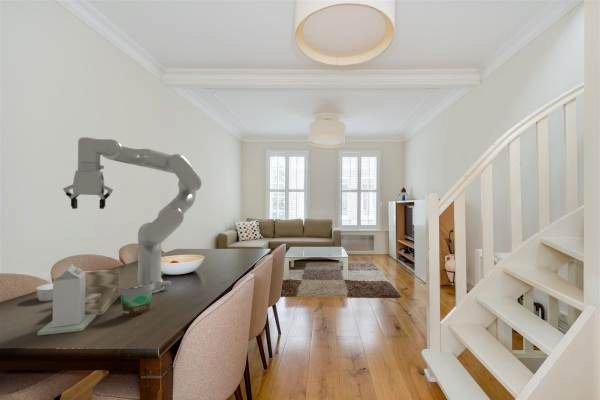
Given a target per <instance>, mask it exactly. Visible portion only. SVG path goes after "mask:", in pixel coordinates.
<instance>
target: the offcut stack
mask: <svg viewBox="0 0 600 400" xmlns="http://www.w3.org/2000/svg"><path fill="white" fill-rule="evenodd" d="M100 299H101V293H99V294H85V304H92V303H98V301H99V300H100Z"/></svg>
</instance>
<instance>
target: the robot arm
mask: <svg viewBox="0 0 600 400" xmlns="http://www.w3.org/2000/svg"><path fill="white" fill-rule="evenodd" d="M101 156H102V157H104V158H105V159H108V160H110V161H115V162H119V163H124V164H128V165H134V166H138V167H143V168H149V169H153V170H156V171H157V170H158V171H162V172H166V173H171V174H175V176H176V177H177V178H178V193H177V195H176V196H175V197H174V198H173V199H172V200H171V201H170V202H168V204H167V205H166V206H164V207H163V208H161V210H159V212H158V214H157V217H156V218H155V219H154V220H153V221H152V222H151V221H150V222H145V223H144V224H142V225H141V226H140V227H139V229H138V232H137V243H138V244H137V245H138V258H137V259H138V261H137V265H138V266H137V286H138V285H146V284H149V283H150V281H152V282H153V284H154V289H153V290H152V294H155V293H156V294H157V293H159V292H160V293H161V291H164V290H165V287H166V286H171V285H172V281H170V280H163V278H162V243H163V242H164V241H166V239H168V238H169V237H170V236H171V235H172V234H173V233H174V232H175V231H176V230H177V229H178V228H179V227H180V226H181V225H182V223H183V221H184V218H185V217H184V214H186V213H187V212H188V211H189V210H190V208H191V207H192V206H193V204H195V203H194V202H195V200H196V197H197V196H196V193H197V191H199V190H200V189H201V186H202V179H201V177H200V176H199V174H198V172H197V171H196V170H195V168H193V166H192V164H190V162H189V161H188V160H187V158H186V157H185V156H183V155H182V154H179V153H175V154H168V153H165V152H160V151H157V150H154V149H150V148H132V147H131V148H130V147H128V146H127V147H126V146H122V144H121V143H120V142H119V141H118V140H115V139H111V138H107V139H106V138H99V139H98V138H94V137H88V136H87V137H83V136H82V137H80V138H78V141H77V169H76V170H75V171H74V177H73V182H72V184H71V185H68V186H66V187H63V188H62V190H63V191H64V193H65V195H66V196H67V197H68V198H69V199H70V207H71V208H72V209H74V210H76V209H78V197H79V196H80V195H82V196H83V195H84V196H85V195H87V196H88V195H89V196H94V195H95V196H99V198H100V199H99V209H100V210H102V209H103V210H104V209H105V207H106V200H107V199H108V198H109V197H110V196H111V195H112V193H113V191H114V190H113V188H111V187H109V186H107V185H105V178H104V173H103V171H102V170H104V169H105V166H104V165H102V164H101ZM70 190H72V193H71V191H70ZM105 191H107V192H106V193H105Z"/></svg>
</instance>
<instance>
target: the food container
mask: <svg viewBox="0 0 600 400" xmlns="http://www.w3.org/2000/svg"><path fill="white" fill-rule="evenodd" d="M153 289H154V284H153V282H152V281H150V283H149V284H146V285H138V284H137V285H135V286H132V287H129V288H122V287H121V288H120V289H119V290H118V295H120V298H121V301H120V302H121V309H122V316H132V317H133V316H139V315H143V314H145V313H147V312H149V311H150V310H151V302H152V294H153V293H152V290H153Z"/></svg>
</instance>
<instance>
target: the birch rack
mask: <svg viewBox="0 0 600 400" xmlns="http://www.w3.org/2000/svg"><path fill="white" fill-rule="evenodd" d="M83 272H84V273H85V274H86V280H85V294H99V293H101V299H100V300H99V301H98V303H92V304H85V315H89V314H96V316H100V315H101V316H102V315H103V314H104V313H105V312H106V311H107V310H108V309H109V308H110V307H111V306H112V305H113V304H114V302H116V301H117V299H118V298H119V277H120V276H119V272H120V271H119V269H108V270H107V269H106V270H104V269H103V270H89V271H88V270H87V271H85V270H84V271H83Z"/></svg>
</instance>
